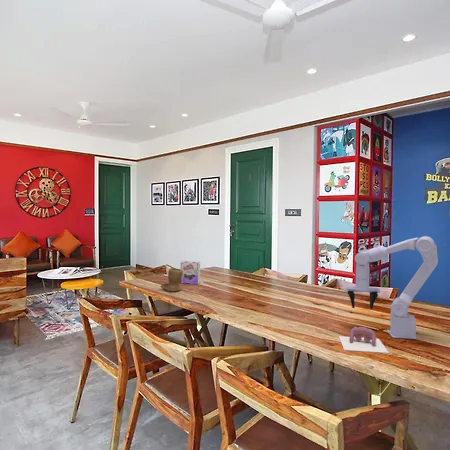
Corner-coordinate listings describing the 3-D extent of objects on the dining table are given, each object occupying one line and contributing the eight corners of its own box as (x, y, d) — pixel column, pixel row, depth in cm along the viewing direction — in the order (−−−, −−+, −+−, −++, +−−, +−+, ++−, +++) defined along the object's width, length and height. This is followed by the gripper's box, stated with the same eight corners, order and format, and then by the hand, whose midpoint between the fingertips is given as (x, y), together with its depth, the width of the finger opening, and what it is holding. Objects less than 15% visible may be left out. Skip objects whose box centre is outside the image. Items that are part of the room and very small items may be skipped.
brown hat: (186, 290, 223) (186, 268, 223) (170, 293, 216) (170, 270, 215) (175, 286, 235) (174, 265, 235) (159, 289, 228) (159, 267, 227)
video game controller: (375, 347, 132) (376, 329, 135) (375, 346, 128) (376, 327, 131) (349, 343, 136) (350, 326, 139) (348, 342, 133) (349, 324, 135)
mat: (378, 338, 137) (378, 338, 137) (389, 353, 124) (389, 352, 124) (338, 336, 140) (338, 336, 140) (344, 350, 126) (344, 349, 126)
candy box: (180, 283, 245) (180, 261, 245) (183, 281, 251) (183, 260, 250) (197, 284, 241) (197, 262, 241) (200, 283, 247) (200, 261, 246)
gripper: (377, 277, 152) (376, 306, 152) (344, 276, 154) (343, 304, 155) (381, 280, 145) (381, 310, 145) (346, 279, 147) (346, 309, 148)
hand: (362, 307), depth 150 cm, fingers open, 7 cm apart
